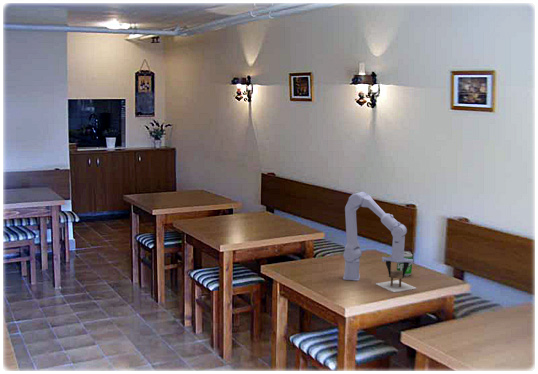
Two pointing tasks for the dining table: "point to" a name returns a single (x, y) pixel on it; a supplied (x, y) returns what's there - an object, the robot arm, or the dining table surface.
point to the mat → (395, 286)
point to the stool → (396, 276)
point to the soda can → (409, 269)
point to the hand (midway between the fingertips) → (396, 277)
